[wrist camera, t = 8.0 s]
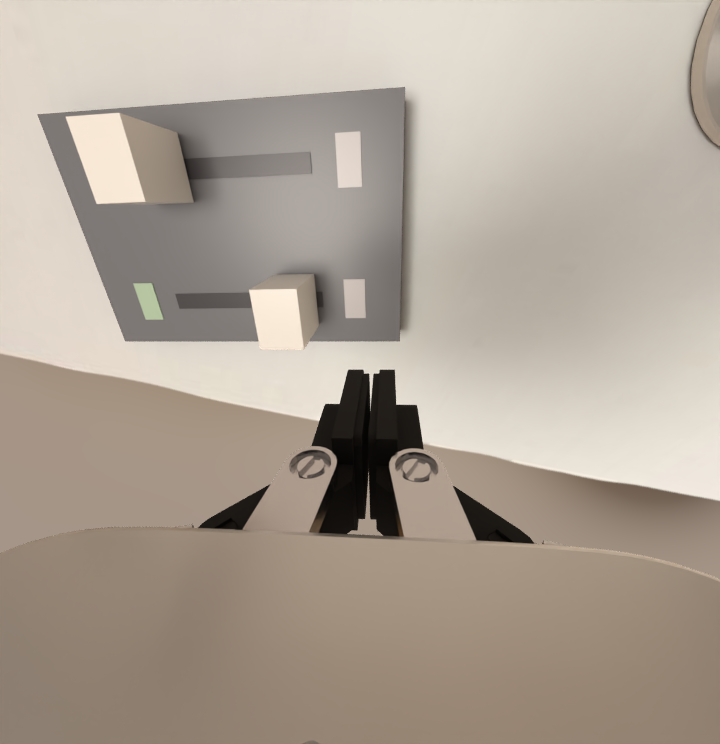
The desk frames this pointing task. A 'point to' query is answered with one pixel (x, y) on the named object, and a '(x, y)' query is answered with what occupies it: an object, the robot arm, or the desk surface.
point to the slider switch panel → (255, 216)
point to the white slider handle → (285, 311)
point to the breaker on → (130, 160)
